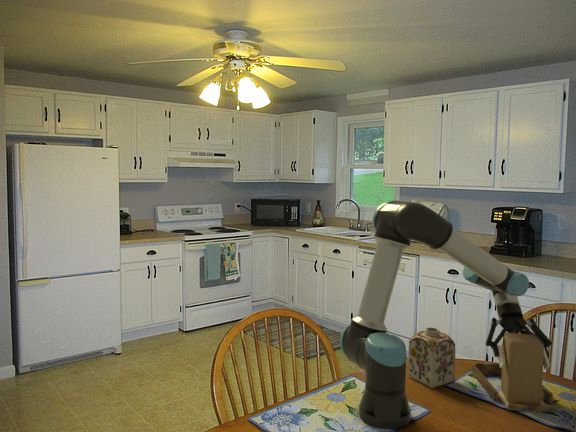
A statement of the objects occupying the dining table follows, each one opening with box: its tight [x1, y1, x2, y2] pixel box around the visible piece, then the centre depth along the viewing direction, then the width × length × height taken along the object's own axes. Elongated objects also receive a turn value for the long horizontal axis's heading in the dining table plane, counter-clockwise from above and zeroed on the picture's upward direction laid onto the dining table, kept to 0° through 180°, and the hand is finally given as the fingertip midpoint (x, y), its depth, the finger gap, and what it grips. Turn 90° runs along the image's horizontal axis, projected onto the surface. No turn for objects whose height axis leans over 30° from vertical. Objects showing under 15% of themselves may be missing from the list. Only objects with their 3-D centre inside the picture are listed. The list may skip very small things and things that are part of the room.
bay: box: [471, 362, 554, 413], centre depth 160 cm, size 18×28×4 cm, turn 176°
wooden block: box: [500, 332, 544, 405], centre depth 153 cm, size 10×10×20 cm
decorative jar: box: [407, 326, 456, 389], centre depth 169 cm, size 12×12×18 cm
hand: (524, 367), depth 151 cm, fingers open, 13 cm apart
